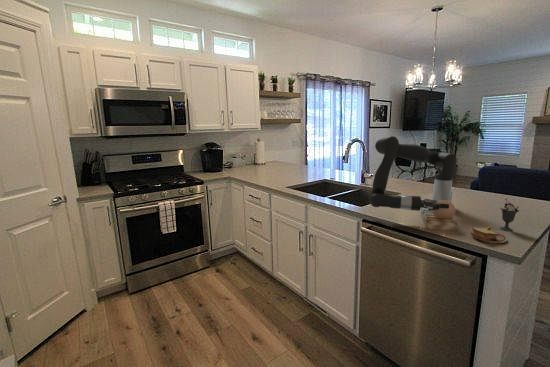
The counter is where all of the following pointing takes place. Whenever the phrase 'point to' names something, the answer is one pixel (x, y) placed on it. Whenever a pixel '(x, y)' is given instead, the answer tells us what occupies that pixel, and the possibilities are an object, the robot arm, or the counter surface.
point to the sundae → (508, 215)
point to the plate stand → (425, 211)
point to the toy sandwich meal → (488, 235)
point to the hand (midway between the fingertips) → (448, 205)
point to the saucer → (444, 211)
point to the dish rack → (438, 222)
